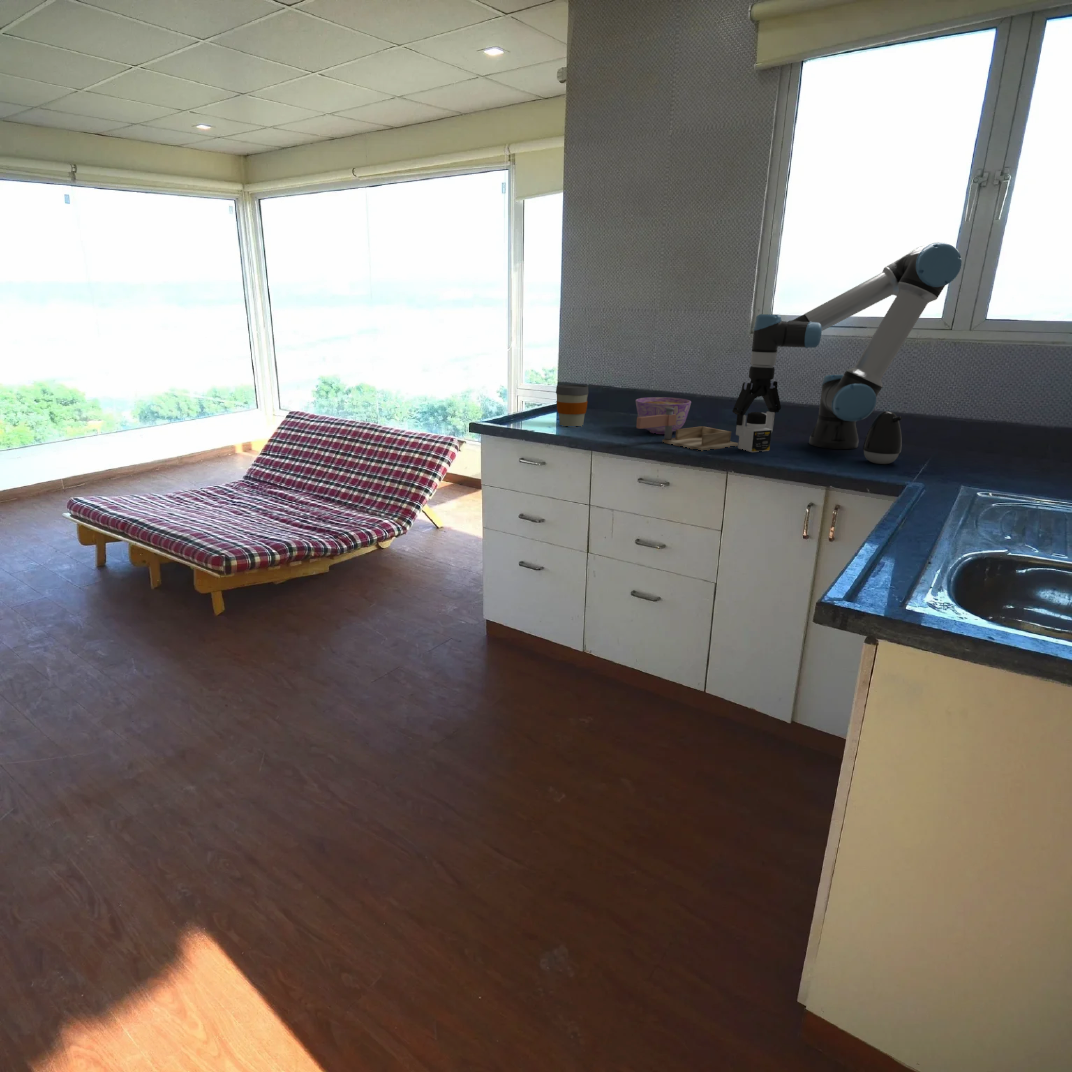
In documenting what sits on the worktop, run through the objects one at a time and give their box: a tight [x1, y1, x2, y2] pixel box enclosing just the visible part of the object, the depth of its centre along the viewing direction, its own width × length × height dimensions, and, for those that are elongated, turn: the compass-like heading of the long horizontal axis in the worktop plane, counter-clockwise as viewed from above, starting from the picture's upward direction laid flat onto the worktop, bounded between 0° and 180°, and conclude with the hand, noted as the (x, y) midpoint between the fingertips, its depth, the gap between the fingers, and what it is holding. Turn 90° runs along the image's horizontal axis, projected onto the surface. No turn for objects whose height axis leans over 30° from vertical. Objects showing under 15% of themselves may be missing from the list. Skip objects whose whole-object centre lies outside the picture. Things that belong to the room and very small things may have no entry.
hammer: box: [636, 408, 676, 440], centre depth 229 cm, size 15×3×10 cm, turn 123°
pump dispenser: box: [862, 410, 903, 465], centre depth 204 cm, size 10×10×15 cm
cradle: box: [662, 425, 739, 452], centre depth 231 cm, size 18×17×4 cm
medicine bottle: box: [737, 411, 773, 453], centre depth 221 cm, size 7×7×12 cm
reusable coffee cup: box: [555, 383, 590, 427], centre depth 265 cm, size 13×13×15 cm
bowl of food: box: [635, 396, 692, 435], centre depth 252 cm, size 20×20×12 cm
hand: (754, 433), depth 222 cm, fingers open, 13 cm apart
